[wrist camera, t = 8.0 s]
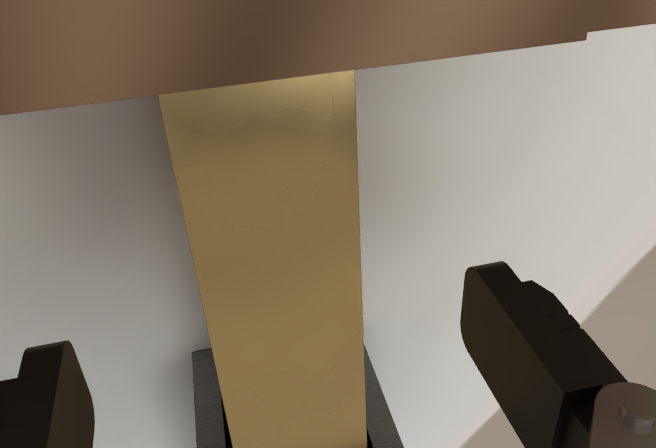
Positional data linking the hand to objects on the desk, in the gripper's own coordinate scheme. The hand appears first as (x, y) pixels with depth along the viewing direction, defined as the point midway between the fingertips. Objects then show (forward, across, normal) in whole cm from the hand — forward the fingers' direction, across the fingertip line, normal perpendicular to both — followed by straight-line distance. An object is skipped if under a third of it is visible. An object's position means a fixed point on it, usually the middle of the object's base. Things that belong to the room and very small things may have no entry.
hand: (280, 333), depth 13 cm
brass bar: (+7, -1, +3) cm, 8 cm away
